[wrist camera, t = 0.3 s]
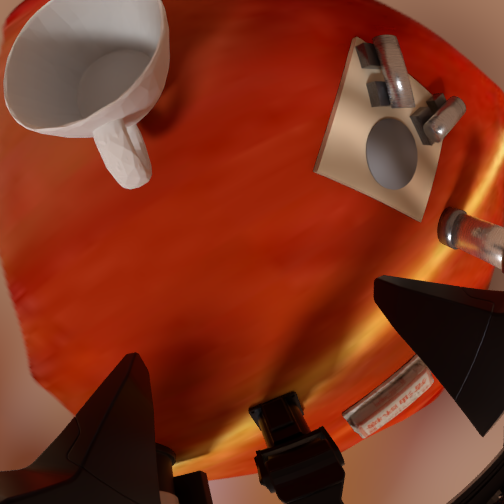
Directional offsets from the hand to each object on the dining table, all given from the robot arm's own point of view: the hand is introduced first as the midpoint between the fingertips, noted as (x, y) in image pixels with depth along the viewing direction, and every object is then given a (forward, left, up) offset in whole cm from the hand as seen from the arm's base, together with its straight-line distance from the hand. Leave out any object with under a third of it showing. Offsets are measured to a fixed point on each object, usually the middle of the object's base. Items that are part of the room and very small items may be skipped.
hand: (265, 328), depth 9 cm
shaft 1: (+9, -19, -14) cm, 25 cm away
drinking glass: (-10, -28, -14) cm, 33 cm away
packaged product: (-38, -17, -15) cm, 44 cm away
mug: (+12, +4, -14) cm, 19 cm away
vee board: (+3, -20, -14) cm, 25 cm away
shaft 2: (+4, -26, -14) cm, 30 cm away
